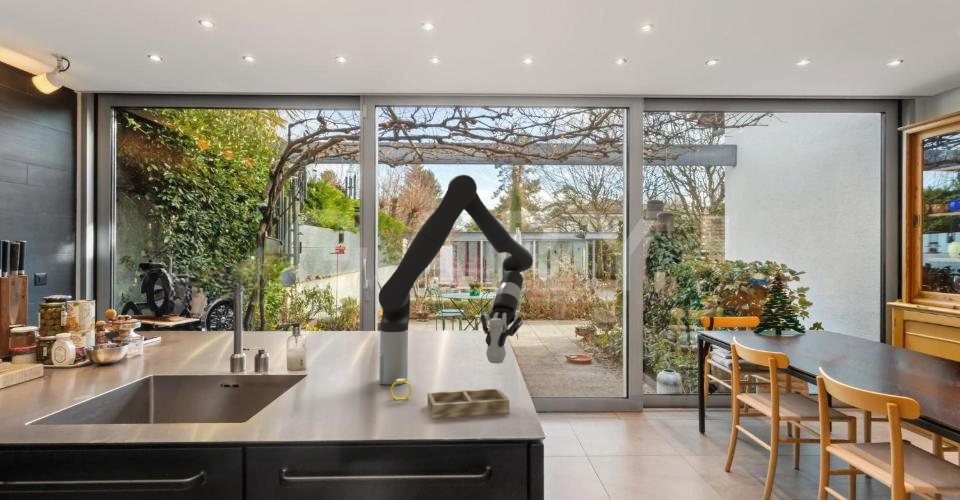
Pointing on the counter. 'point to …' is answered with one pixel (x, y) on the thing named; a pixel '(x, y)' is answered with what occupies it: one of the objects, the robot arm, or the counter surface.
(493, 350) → the salt shaker
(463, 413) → the tray
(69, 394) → the counter surface
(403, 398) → the watch
